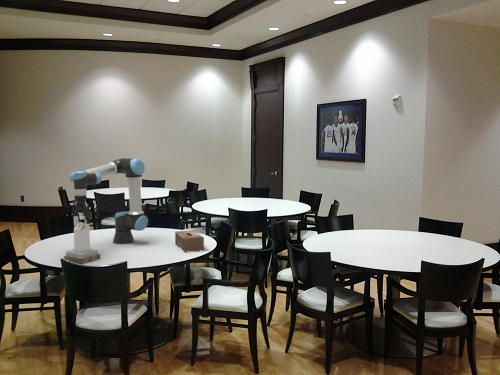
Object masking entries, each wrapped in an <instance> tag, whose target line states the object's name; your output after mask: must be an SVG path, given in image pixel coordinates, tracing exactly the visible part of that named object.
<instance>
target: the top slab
mask: <svg viewBox="0 0 500 375" xmlns="http://www.w3.org/2000/svg"><path fill="white" fill-rule="evenodd" d="M98 254H99V250H98V249H97V248H95V249H94V248H90V250H89V251H84V252H77V251H74V249H71V250H67V251H65V256H68V257H73V258H78V259H83V258H87V257H90V256H94V255H98Z"/></svg>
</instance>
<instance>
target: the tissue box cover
mask: <svg viewBox="0 0 500 375" xmlns="http://www.w3.org/2000/svg"><path fill="white" fill-rule="evenodd" d="M174 237H175V238H174V242H175V246H177V248H179V247H180V248H181V249H182V250H183V251H184V252H183V251H182V250H181V249H180V248H179V249H180V250H181V251H182V252H183V253H188V252H187V251H194V252H198V251H197V250H205V248H204V247H205V240H204V239H205V237H204V236H202V235H201V234H200V233H199V232H197V231H195V230H194V229H193V230H182V231H181V230H180V231H175V233H174Z"/></svg>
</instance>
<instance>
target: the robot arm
mask: <svg viewBox="0 0 500 375" xmlns="http://www.w3.org/2000/svg"><path fill="white" fill-rule="evenodd" d="M145 168H146V166H145V164H144V162H143V160H141V158H140V159H139V158H135V157H134V158H128V157H126V158H125V157H124V158H123V157H122V158H118V159H115V160H111V161H109V162H108V163H105V164H103V165H102V164H101V165H99V166H95V167H92V168H88V169H85V170H78V171H73V172H71V173H70V174H69V176H68V177H69V180H70V182H71V183H72V184H73V192H74V193H73V195H74V196H73V197H74V201H73V206H72V209H71V215H72V216H73V226H74V227H75V226H76V225H77V224H78V222H79V212H80V211H81V212H82V213H83V216H84V225H85V229H89V230H90V226H91V225H90V223H91V222H90V219H92V214H91V211H90V206H89V203H88V202H87V203H86V201H87V199H88V197H87V193H88V192H87V186H92V185H98V184H100V183H101V181H102V177H104V176H108V175H115V174H125V178H126V179H127V182H128V183H127V186H128V200H129V201H128V202H129V211H120V212H116V213H115V214H114V229H115V232H114V237H113V238H112V243H114V244H116V245H117V244H118V245H121V244H122V245H123V244H124V245H125V244H131V243H133V242H134V236H133V232H132V230H133V231H137V232H138V231H144V230H145V229H146V227H147V226H148V223H149V219H148V217H147V216H146V215H145V211H144V210H143V207H142V194H141V193H142V192H141V191H142V190H141V178H142V177H143V175H144V173H145V170H146V169H145Z"/></svg>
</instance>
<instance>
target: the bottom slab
mask: <svg viewBox="0 0 500 375" xmlns="http://www.w3.org/2000/svg"><path fill="white" fill-rule="evenodd" d="M64 259H65V260H68V261H70V262H69V263H72V262H73V263H72V264H77V263H78V265H83V264H86V263H87V264H88V263H90V262H94V261H97V260H101V253H98V255H94V256H90V257H87V258H83V259H78V258H73V257H68V256H66V255H64V256H63V260H64ZM68 261H67V262H68Z"/></svg>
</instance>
